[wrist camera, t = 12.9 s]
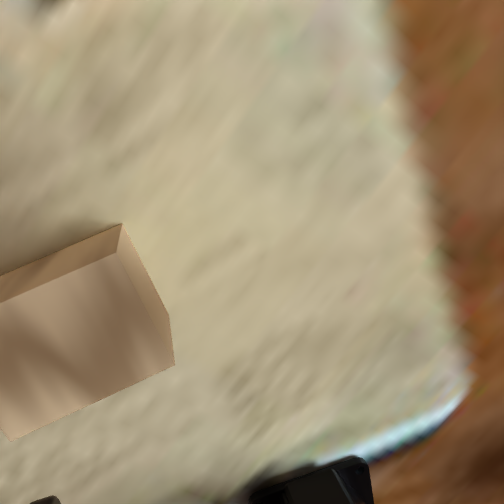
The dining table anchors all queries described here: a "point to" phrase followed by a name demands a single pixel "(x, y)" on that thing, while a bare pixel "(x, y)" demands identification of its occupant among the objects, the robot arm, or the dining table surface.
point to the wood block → (77, 331)
